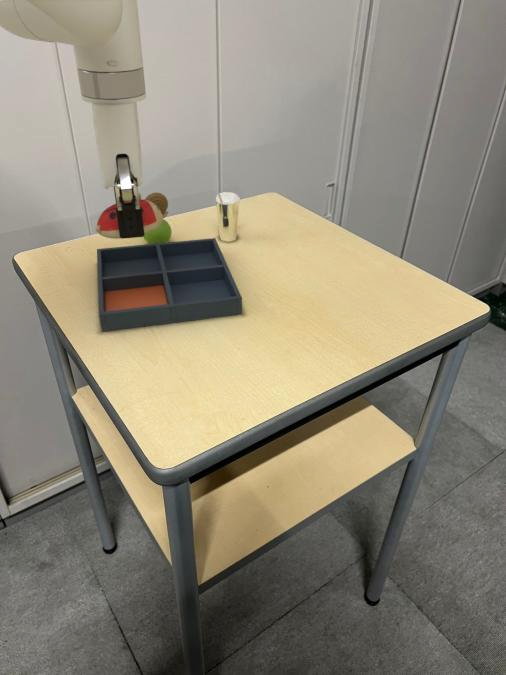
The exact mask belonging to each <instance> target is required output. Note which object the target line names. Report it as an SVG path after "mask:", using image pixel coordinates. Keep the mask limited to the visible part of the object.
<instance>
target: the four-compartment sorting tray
mask: <svg viewBox="0 0 506 675" xmlns="http://www.w3.org/2000/svg"><path fill="white" fill-rule="evenodd" d="M96 268H97V270H96V272H97V293H98V294H97V299H98V302H97V304H98V318H99V322H100V328H101V332H102V333H105V332H113V331H120V330H128V329H137V328H145V327H152V326H160V325H167V324H175V323H182V322H183V323H185V322H192V321H200V320H208V319H215V318H224V317H231V316H239V315H240V316H241V315H243V297H242V295H241V293H240V290H239V288H238V285H237V284H236V280H235V279H234V276H233V274H232V272H231V270H230V268H229V265H228V263H227V261H226V259H225V257H224V254H223V252H222V250H221V248H220V246H219V244H218V241H217V238H216V237H213V238H212V237H211V238H200V239H191V240H189V239H188V240H182V241H180V240H179V241H169V242H168V243H160V244H159V243H156V244H148V243H147V244H137V245H136V244H135V245H127V246H126V245H125V246H115V247H104V248H97V249H96Z"/></svg>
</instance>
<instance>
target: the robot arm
mask: <svg viewBox="0 0 506 675" xmlns="http://www.w3.org/2000/svg"><path fill="white" fill-rule="evenodd" d="M0 27H1V28H3V29H4V30H5V31H6V32H8V33H10V34H12V35H14V36H17V37H19V38H22V39H26V40H32V41H38V42H44V43H45V42H46V43H58V44H65V45H70V46H72V47H73V54H74V59H75V66H76V71H77V77H78V83H79V90H80V96H81V100H82V101H84V102H85V103H89V104H91V109H92V121H93V122H92V123H93V129H94V136H95V142H96V150H97V156H98V162H99V169H100V176H101V183H102V187H103V188H104V189H105V190H109V188H113V191H114V198H115V204H116V203H117V207H118V208H116V214H117V221H118V228H119V235H120V238H121V239H134V238H135V239H136V238H144V237H143V236H144V226H143V217H142V208H141V207H140V206H139V198H138V193H139V191H138V188H139V187H140V186H141V185H142V184H143V172H142V171H143V168H142V166H143V165H142V147H141V146H142V145H141V134H140V123H139V122H140V121H139V113H138V112H139V111H138V104H137V103H138V102H142V101H144V100H145V99H146V98H147V91H146V82H145V72H144V70H145V69H144V60H143V49H142V39H141V31H140V30H141V29H140V17H139V6H138V0H0ZM121 204H122V205H121Z"/></svg>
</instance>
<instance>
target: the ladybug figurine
mask: <svg viewBox="0 0 506 675" xmlns="http://www.w3.org/2000/svg"><path fill="white" fill-rule="evenodd" d="M121 205H122V204H121ZM139 206H140V207H141V208H142V217H143V226H144V234H146V233H149V232H151V231H153V230H155V229H157V228H158V227H160V226H161V224H162V223H163V219H164V218H163V216H162V213H161V211H160V210H159V208H158V207H157V206H156V205H155V204H154V203H152V202H151V201H149V200H145V199H142V198H141V199H139ZM116 208H118V207H117V203H116V202H115V203H114V204H112V205H110V206H108V207H106V208H105V209H104V210H103V211H102V212H101V214H100V216H99V217H98V220H97V222H96V226H95V232H96V233H98V235H100V236H101V237H103V238H107V239H114V240H115V239H118V240H119V239H122V238H120V235H119V228H118V221H117V214H116Z"/></svg>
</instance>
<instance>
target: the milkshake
mask: <svg viewBox="0 0 506 675" xmlns="http://www.w3.org/2000/svg"><path fill="white" fill-rule="evenodd" d="M240 202H241V198H240V196H239V195H238V194H237V193H235V192H232V191H230V192H229V191H223V192H220V193H218V194H217V195H216V197H215V204H216V205H215V206H216V212H217V221H218V232H219V238H220V240H221V241H222V242H228V243H229V242H234V241H235V240H237V237H238V236H237V233H238V221H239V210H240Z"/></svg>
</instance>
